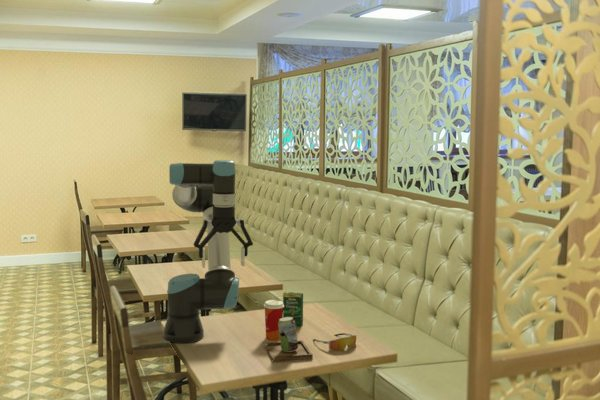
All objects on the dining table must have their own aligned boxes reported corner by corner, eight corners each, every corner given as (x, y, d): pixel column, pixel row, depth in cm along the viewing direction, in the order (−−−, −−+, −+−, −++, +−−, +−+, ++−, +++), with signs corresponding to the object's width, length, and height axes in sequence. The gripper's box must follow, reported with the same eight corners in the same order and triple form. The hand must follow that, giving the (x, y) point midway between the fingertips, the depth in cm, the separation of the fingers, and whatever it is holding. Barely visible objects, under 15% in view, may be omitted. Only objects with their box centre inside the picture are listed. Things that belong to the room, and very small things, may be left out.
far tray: (265, 347, 238) (265, 342, 238) (302, 345, 241) (302, 340, 241) (273, 362, 224) (273, 357, 224) (312, 359, 228) (312, 354, 228)
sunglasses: (332, 354, 234) (331, 340, 234) (308, 346, 246) (308, 333, 246) (363, 346, 242) (362, 333, 242) (338, 340, 254) (338, 327, 254)
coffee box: (281, 324, 264) (282, 292, 262) (284, 322, 267) (285, 290, 265) (300, 326, 261) (301, 295, 259) (303, 324, 264) (304, 293, 262)
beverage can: (296, 354, 229) (296, 321, 227) (275, 353, 230) (276, 320, 229) (299, 348, 235) (300, 316, 233) (279, 346, 236) (280, 314, 235)
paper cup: (268, 333, 253) (269, 298, 251) (286, 336, 250) (287, 301, 248) (259, 339, 245) (260, 303, 243) (278, 343, 243) (279, 306, 241)
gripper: (187, 207, 217) (187, 270, 220) (261, 206, 223) (260, 267, 226) (185, 204, 224) (185, 264, 227) (257, 203, 230) (256, 262, 233)
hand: (223, 266), depth 226 cm, fingers open, 13 cm apart
